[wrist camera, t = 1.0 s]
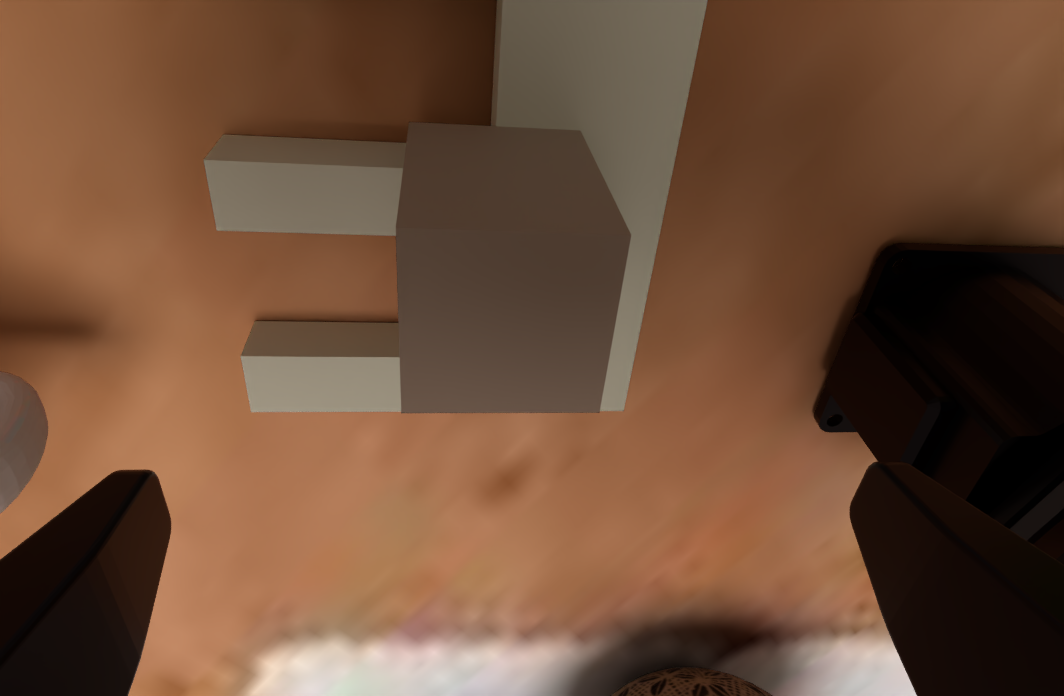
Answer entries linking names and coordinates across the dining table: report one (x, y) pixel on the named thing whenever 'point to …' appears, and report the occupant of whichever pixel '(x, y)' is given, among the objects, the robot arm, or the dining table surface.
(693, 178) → the dining table surface
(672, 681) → the decorative egg
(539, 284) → the two-prong bracket
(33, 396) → the cup
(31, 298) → the dining table surface
